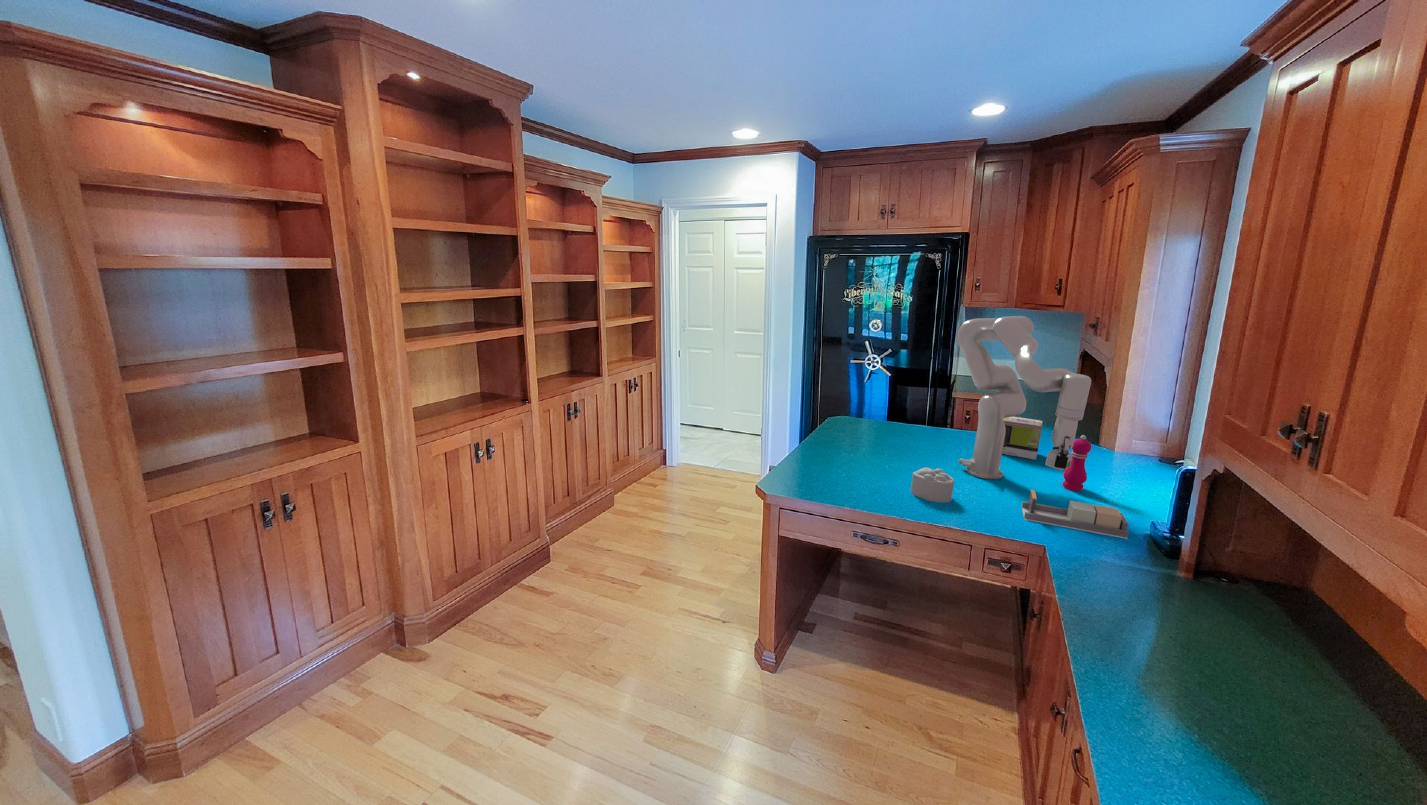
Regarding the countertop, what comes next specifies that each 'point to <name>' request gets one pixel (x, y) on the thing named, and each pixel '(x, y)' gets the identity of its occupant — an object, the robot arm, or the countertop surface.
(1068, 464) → the small box
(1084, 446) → the pepper mill
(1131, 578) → the countertop surface
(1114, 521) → the kraft box
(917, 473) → the lumpy-topped squat cylinder
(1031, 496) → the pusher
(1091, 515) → the sage box
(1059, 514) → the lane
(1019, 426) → the tea box
